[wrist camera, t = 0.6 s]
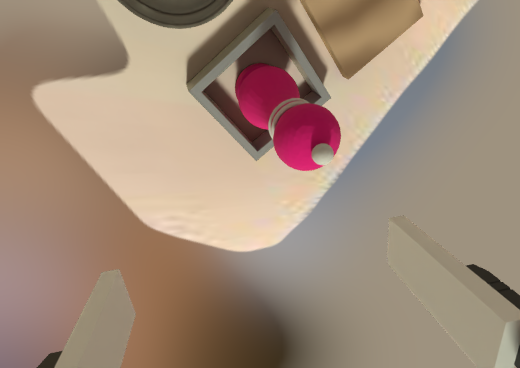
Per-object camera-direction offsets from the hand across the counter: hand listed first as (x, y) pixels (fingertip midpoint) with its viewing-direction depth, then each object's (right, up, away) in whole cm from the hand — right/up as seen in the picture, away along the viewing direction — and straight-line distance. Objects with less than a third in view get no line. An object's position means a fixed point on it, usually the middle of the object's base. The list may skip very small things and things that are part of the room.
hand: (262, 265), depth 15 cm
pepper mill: (0, +17, +26) cm, 31 cm away
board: (+12, +27, +23) cm, 37 cm away
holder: (0, +16, +25) cm, 30 cm away
